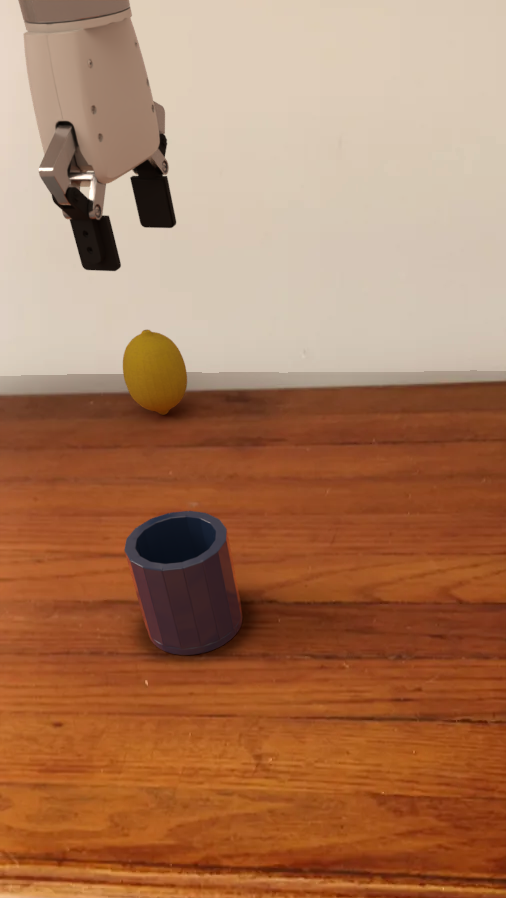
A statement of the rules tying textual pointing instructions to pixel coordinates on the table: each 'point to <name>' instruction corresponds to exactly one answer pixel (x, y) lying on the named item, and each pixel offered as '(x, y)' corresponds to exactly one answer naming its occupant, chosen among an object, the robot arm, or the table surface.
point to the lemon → (154, 372)
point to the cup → (185, 581)
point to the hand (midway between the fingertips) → (132, 247)
